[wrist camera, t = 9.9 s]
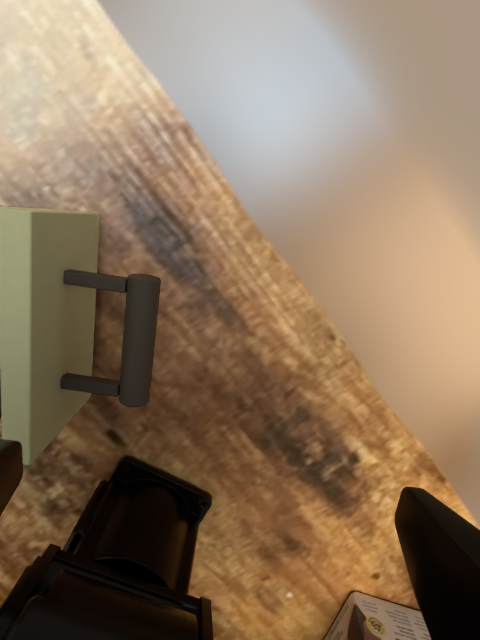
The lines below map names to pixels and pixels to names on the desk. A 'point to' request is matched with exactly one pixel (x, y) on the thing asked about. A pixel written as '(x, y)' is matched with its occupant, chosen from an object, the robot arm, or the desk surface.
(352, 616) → the coffee box
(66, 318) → the cabinet drawer
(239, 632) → the desk surface
